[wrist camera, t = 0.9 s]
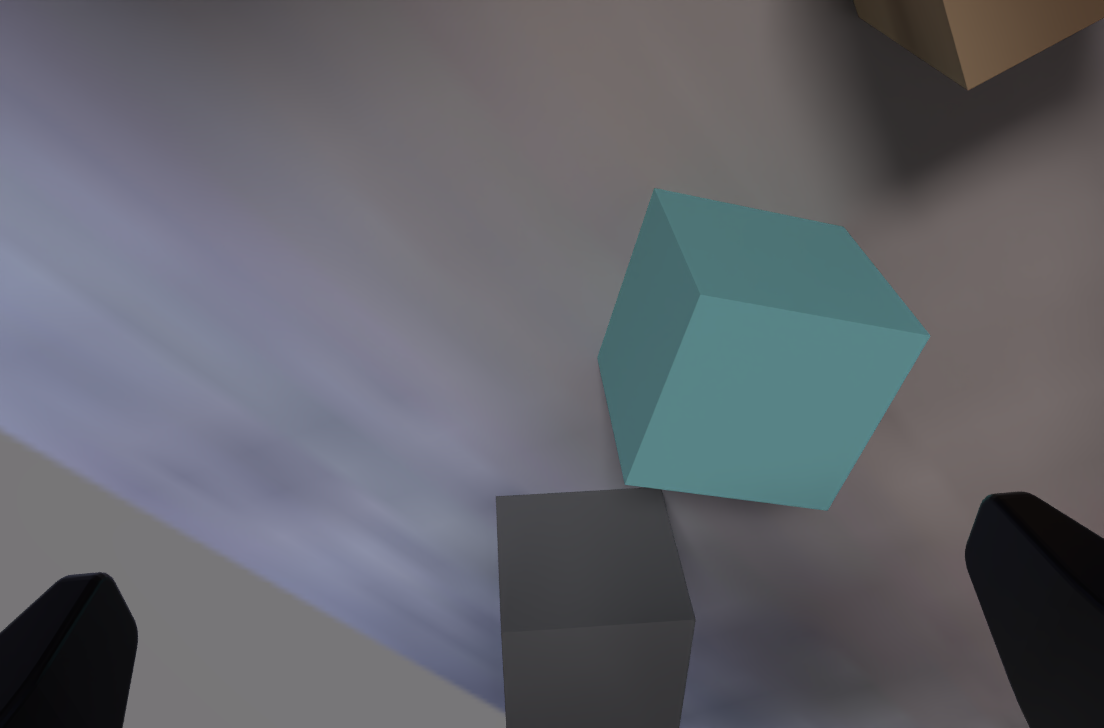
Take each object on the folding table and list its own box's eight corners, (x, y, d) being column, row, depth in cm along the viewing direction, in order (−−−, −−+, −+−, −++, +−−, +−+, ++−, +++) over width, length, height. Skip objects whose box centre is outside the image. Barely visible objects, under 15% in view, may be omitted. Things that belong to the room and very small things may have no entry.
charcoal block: (660, 485, 26) (695, 619, 22) (649, 593, 29) (678, 729, 25) (495, 494, 26) (501, 632, 22) (501, 602, 29) (507, 742, 25)
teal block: (842, 225, 21) (930, 335, 17) (766, 383, 24) (827, 510, 20) (653, 186, 20) (700, 294, 16) (597, 356, 23) (625, 484, 19)
